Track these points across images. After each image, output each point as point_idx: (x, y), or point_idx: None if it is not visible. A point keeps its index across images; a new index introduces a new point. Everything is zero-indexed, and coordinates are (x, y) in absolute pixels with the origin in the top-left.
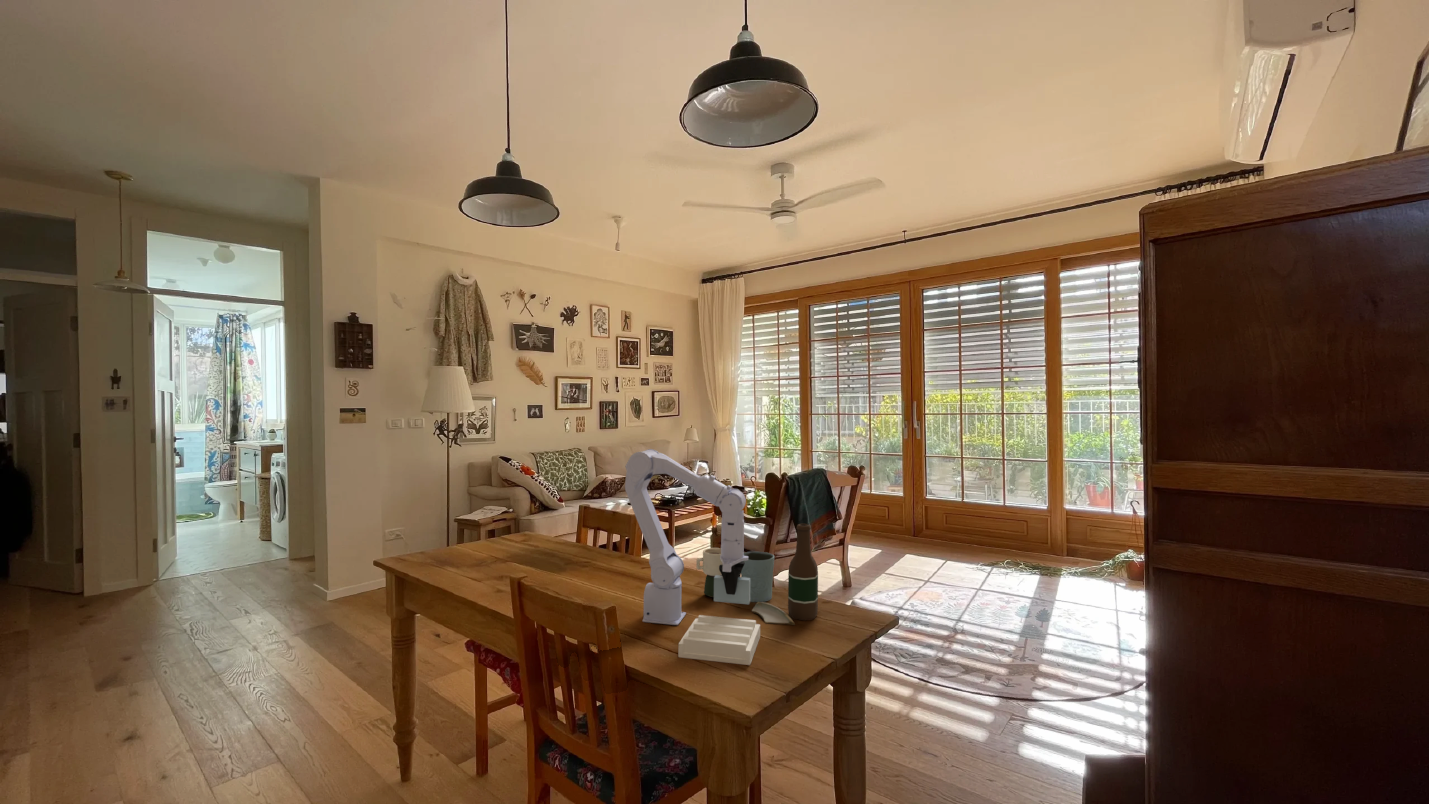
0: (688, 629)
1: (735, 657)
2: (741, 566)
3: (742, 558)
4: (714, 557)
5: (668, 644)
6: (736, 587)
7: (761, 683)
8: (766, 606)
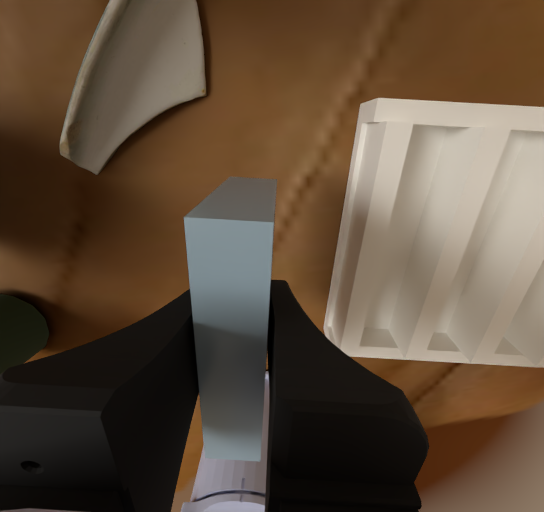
0: (429, 360)
1: None
2: (133, 397)
3: None
4: None
5: (421, 370)
6: (274, 294)
7: None
8: (92, 91)
